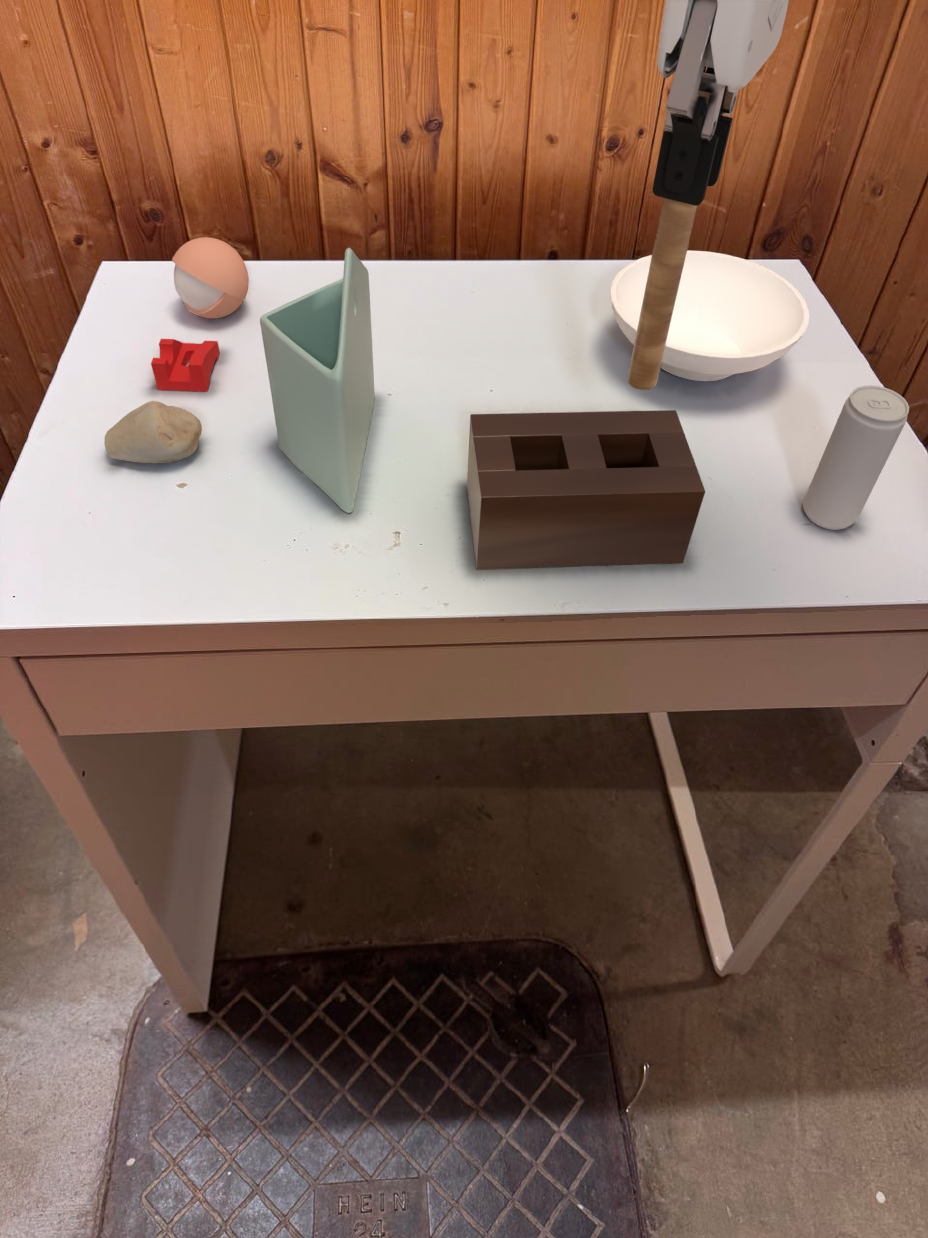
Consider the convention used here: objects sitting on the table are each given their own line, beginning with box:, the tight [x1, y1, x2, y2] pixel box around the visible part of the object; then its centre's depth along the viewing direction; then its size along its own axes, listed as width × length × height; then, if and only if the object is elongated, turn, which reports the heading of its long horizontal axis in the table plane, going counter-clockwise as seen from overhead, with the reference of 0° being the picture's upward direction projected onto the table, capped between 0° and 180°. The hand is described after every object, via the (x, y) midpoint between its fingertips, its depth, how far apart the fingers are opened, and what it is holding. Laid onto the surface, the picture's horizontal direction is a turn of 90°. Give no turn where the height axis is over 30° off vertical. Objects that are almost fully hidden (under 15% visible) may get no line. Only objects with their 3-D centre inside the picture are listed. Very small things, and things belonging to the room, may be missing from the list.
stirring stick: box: [627, 91, 714, 391], centre depth 62 cm, size 2×2×20 cm
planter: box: [259, 247, 376, 514], centre depth 78 cm, size 16×8×20 cm, turn 177°
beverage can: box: [802, 384, 910, 531], centre depth 77 cm, size 5×5×12 cm
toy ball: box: [171, 236, 250, 319], centre depth 96 cm, size 8×8×8 cm
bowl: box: [609, 249, 810, 382], centre depth 94 cm, size 20×20×7 cm
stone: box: [104, 400, 203, 464], centre depth 83 cm, size 7×6×8 cm
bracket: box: [150, 338, 221, 393], centre depth 91 cm, size 6×5×3 cm
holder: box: [466, 409, 706, 571], centre depth 77 cm, size 10×17×8 cm, turn 94°
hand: (685, 186), depth 58 cm, fingers closed on stirring stick, 2 cm apart
